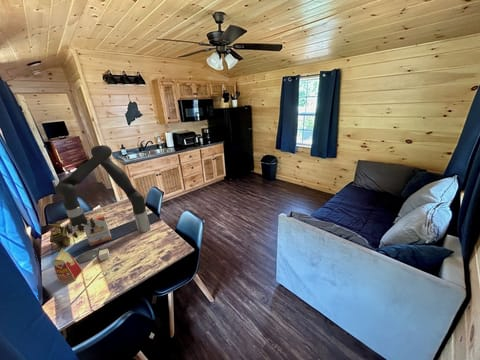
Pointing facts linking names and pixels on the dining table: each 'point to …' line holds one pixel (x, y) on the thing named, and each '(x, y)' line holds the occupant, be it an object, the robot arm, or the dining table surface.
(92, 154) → the robot arm
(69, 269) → the milk carton
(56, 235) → the olive piece
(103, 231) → the cracker box
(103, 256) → the cube
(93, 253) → the disc
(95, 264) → the dining table surface
